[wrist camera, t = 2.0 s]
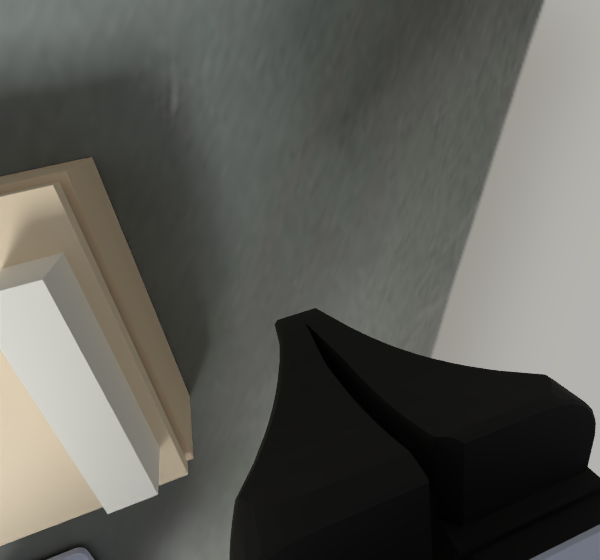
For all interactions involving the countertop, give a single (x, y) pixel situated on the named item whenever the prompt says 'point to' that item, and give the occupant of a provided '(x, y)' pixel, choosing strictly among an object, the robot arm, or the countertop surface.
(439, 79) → the countertop surface
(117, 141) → the countertop surface
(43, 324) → the mailer lid
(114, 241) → the tray
